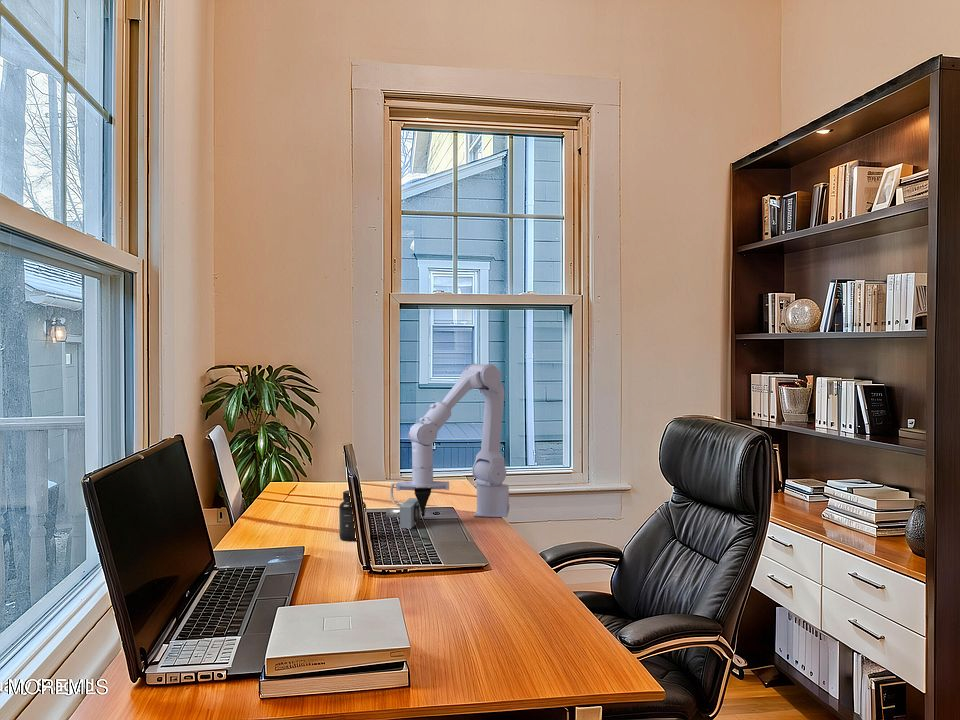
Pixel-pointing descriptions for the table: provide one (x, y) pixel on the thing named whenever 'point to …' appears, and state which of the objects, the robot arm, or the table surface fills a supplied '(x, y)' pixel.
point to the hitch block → (408, 513)
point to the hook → (392, 495)
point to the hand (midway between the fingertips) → (423, 515)
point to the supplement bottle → (346, 519)
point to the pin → (396, 513)
